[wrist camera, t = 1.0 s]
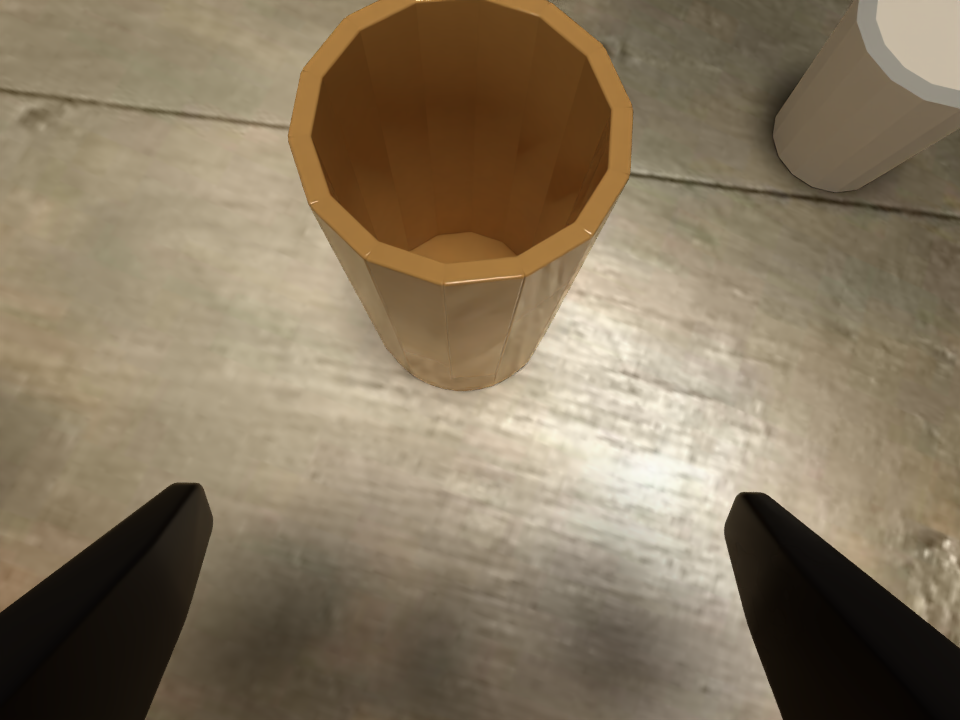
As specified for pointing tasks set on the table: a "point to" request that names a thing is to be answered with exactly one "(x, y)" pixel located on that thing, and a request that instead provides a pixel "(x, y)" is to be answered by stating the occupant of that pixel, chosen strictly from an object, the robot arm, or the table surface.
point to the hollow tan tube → (461, 172)
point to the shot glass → (874, 93)
